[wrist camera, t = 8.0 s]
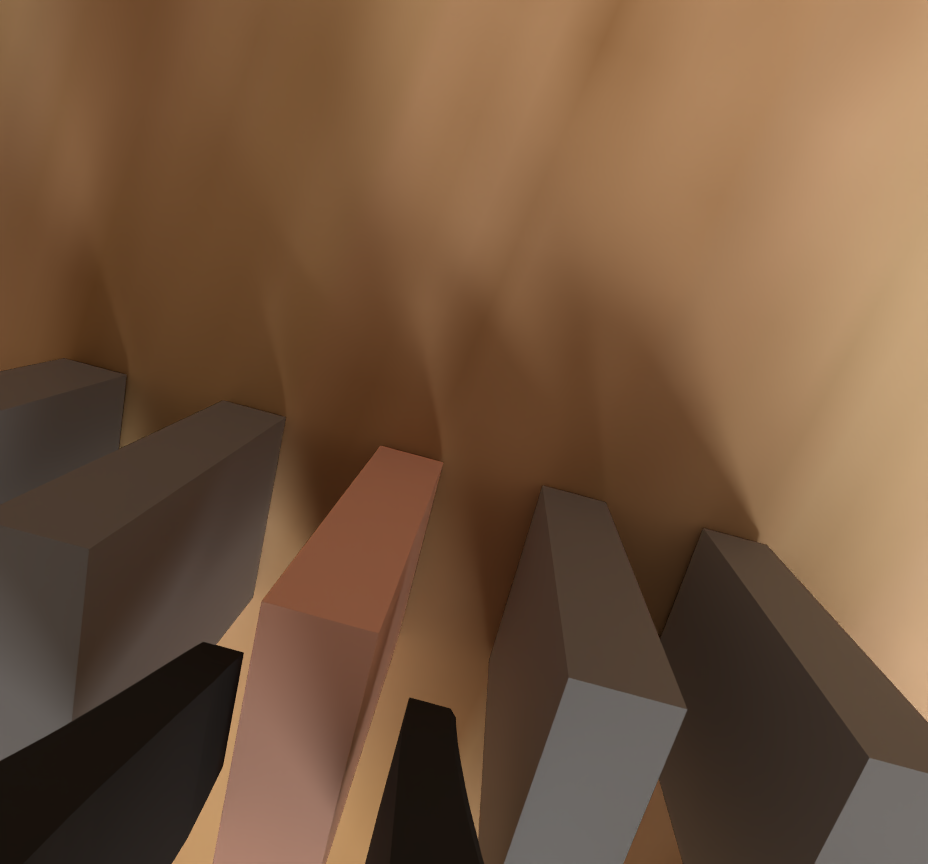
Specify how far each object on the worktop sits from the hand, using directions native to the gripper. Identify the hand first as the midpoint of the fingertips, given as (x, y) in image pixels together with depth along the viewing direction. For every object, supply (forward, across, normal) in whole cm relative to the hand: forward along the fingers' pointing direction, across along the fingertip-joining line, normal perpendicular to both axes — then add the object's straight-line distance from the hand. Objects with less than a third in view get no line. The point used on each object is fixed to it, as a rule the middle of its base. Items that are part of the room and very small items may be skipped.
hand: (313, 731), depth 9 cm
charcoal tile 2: (+6, +4, 0) cm, 7 cm away
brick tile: (+6, 0, 0) cm, 6 cm away
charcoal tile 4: (+6, -4, 0) cm, 7 cm away
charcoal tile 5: (+6, -8, 0) cm, 10 cm away
